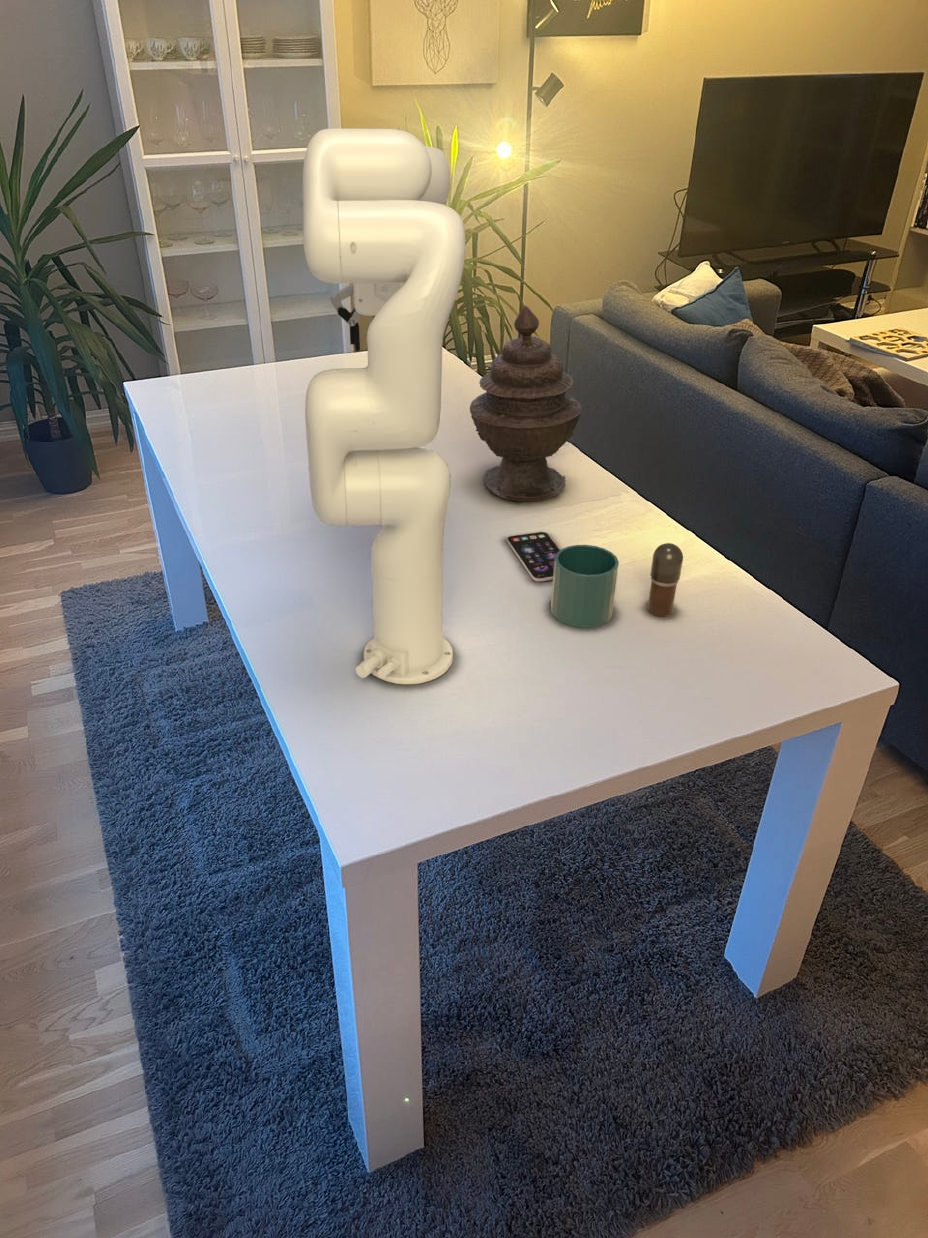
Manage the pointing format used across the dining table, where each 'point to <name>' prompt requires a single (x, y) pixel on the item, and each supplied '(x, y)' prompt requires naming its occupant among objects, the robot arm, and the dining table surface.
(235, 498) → the dining table surface
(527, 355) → the decorative urn
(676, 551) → the brown rounded cylinder
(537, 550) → the smartphone
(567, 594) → the cup
